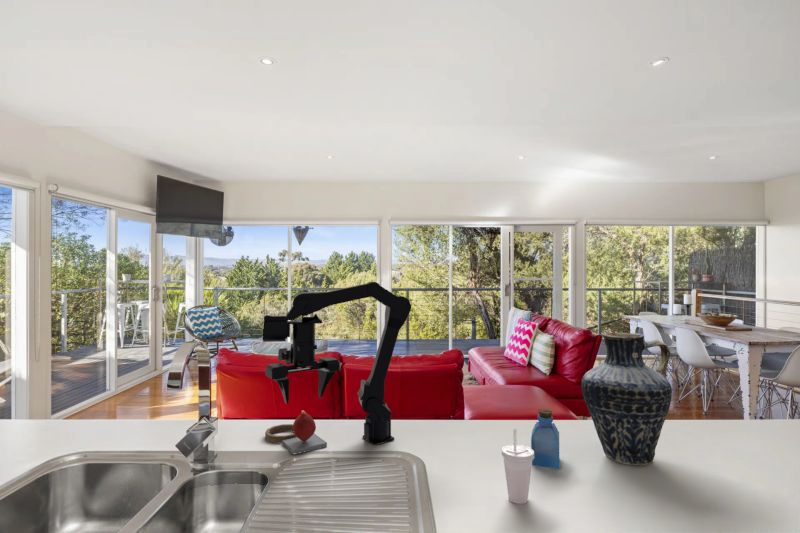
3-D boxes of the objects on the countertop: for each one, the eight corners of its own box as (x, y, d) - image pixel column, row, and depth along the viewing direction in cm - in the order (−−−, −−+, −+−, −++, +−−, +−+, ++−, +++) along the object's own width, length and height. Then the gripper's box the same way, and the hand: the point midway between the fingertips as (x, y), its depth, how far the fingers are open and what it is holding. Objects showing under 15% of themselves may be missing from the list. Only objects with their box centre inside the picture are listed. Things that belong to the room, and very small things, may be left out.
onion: (318, 437, 120) (317, 407, 120) (312, 446, 115) (311, 414, 115) (297, 436, 121) (296, 407, 121) (289, 445, 115) (288, 414, 115)
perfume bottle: (559, 458, 109) (558, 408, 109) (559, 469, 103) (559, 416, 103) (532, 454, 111) (532, 406, 111) (531, 465, 105) (530, 413, 106)
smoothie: (497, 491, 93) (497, 423, 93) (527, 490, 93) (527, 422, 94) (507, 508, 87) (507, 435, 87) (540, 506, 87) (539, 433, 87)
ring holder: (294, 427, 131) (294, 421, 131) (307, 437, 123) (307, 431, 123) (261, 434, 126) (261, 428, 126) (272, 445, 118) (272, 439, 118)
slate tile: (314, 436, 124) (314, 433, 124) (326, 446, 117) (326, 442, 117) (282, 444, 119) (282, 440, 119) (293, 454, 112) (293, 450, 112)
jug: (613, 479, 98) (612, 341, 98) (566, 444, 117) (566, 329, 118) (697, 472, 101) (696, 338, 102) (638, 439, 121) (638, 327, 121)
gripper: (323, 334, 130) (323, 388, 130) (258, 339, 119) (258, 399, 119) (341, 339, 121) (341, 397, 121) (272, 345, 110) (272, 409, 110)
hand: (303, 400), depth 118 cm, fingers open, 9 cm apart
